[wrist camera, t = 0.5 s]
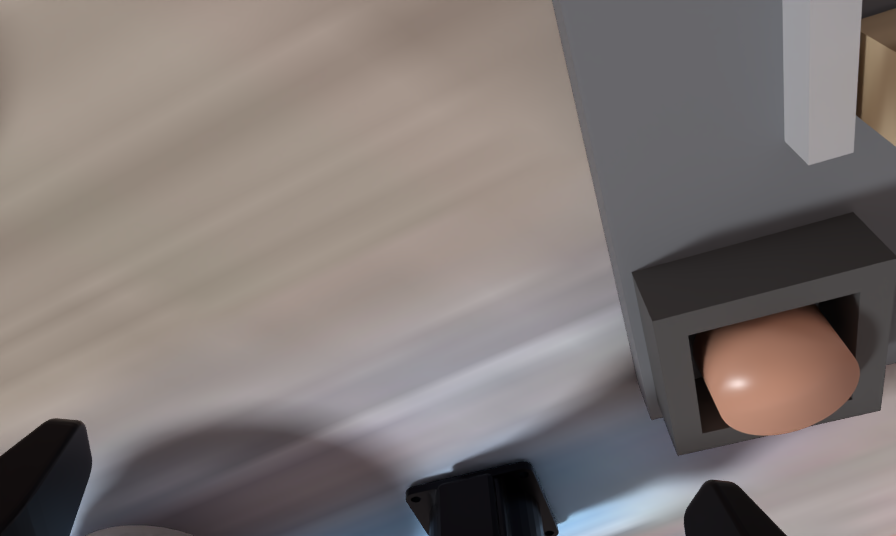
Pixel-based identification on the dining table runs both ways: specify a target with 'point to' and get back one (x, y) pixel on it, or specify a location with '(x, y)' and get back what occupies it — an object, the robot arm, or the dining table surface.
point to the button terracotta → (776, 371)
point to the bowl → (138, 531)
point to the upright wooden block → (878, 74)
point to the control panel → (734, 183)
